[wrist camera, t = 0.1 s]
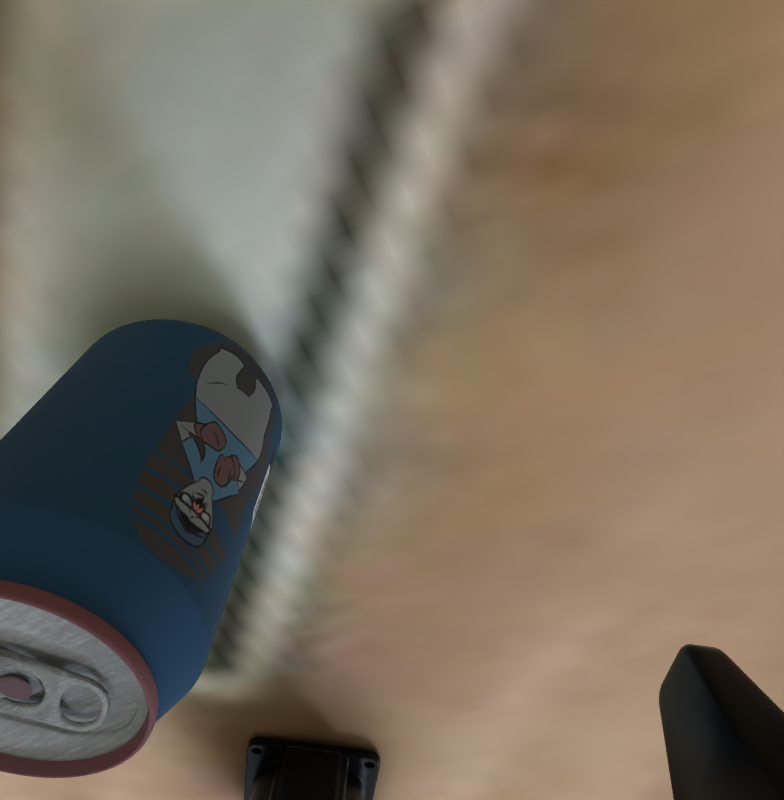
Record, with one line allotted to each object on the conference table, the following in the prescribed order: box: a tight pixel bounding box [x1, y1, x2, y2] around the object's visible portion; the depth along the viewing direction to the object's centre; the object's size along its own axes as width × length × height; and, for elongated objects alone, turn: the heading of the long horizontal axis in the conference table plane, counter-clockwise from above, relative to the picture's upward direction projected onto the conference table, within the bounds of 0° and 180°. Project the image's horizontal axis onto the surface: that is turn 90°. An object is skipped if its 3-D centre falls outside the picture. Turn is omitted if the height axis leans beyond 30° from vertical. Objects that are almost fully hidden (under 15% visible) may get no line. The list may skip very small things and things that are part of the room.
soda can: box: [0, 320, 282, 778], centre depth 19 cm, size 7×7×12 cm
